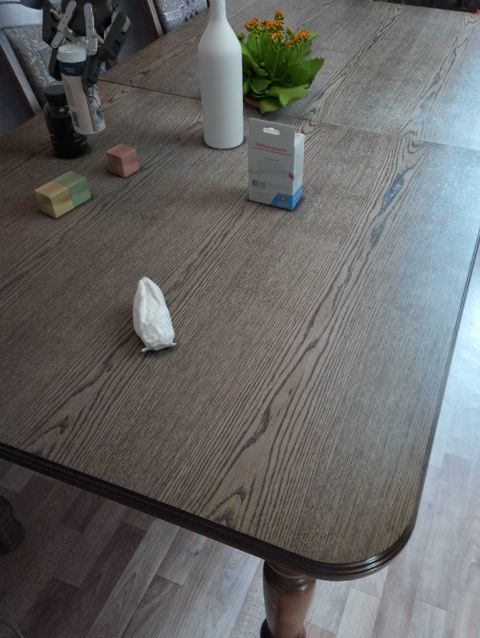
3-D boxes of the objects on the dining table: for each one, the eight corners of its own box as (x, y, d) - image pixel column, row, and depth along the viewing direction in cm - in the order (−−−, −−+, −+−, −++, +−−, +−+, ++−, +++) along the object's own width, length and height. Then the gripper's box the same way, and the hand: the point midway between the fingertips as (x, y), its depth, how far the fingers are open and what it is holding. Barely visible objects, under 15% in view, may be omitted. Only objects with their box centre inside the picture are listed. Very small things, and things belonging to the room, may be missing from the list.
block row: (40, 211, 94) (33, 190, 91) (124, 163, 106) (120, 143, 103) (56, 218, 93) (50, 197, 90) (139, 169, 105) (136, 149, 102)
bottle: (232, 152, 109) (226, -26, 88) (197, 144, 112) (182, -32, 90) (250, 135, 114) (248, -37, 93) (215, 128, 117) (206, -42, 95)
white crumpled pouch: (126, 322, 77) (141, 356, 69) (125, 276, 74) (140, 308, 66) (161, 318, 79) (179, 352, 71) (161, 274, 76) (180, 304, 68)
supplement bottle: (47, 155, 108) (29, 93, 99) (66, 140, 112) (50, 79, 104) (77, 161, 106) (62, 98, 98) (96, 146, 111) (82, 84, 102)
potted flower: (193, 111, 122) (186, 24, 110) (229, 74, 138) (226, -7, 125) (302, 127, 117) (308, 37, 105) (326, 86, 133) (334, 3, 120)
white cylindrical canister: (105, 136, 86) (88, 54, 77) (73, 138, 85) (53, 55, 76) (106, 122, 89) (90, 41, 80) (76, 123, 88) (56, 42, 79)
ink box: (302, 197, 98) (308, 114, 87) (292, 211, 95) (296, 127, 84) (259, 187, 100) (259, 105, 90) (247, 200, 97) (246, 117, 87)
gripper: (41, -62, 76) (12, 61, 78) (131, -50, 73) (99, 78, 74) (72, -27, 84) (46, 85, 85) (156, -15, 80) (126, 101, 82)
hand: (71, 81), depth 80 cm, fingers closed on white cylindrical canister, 4 cm apart
